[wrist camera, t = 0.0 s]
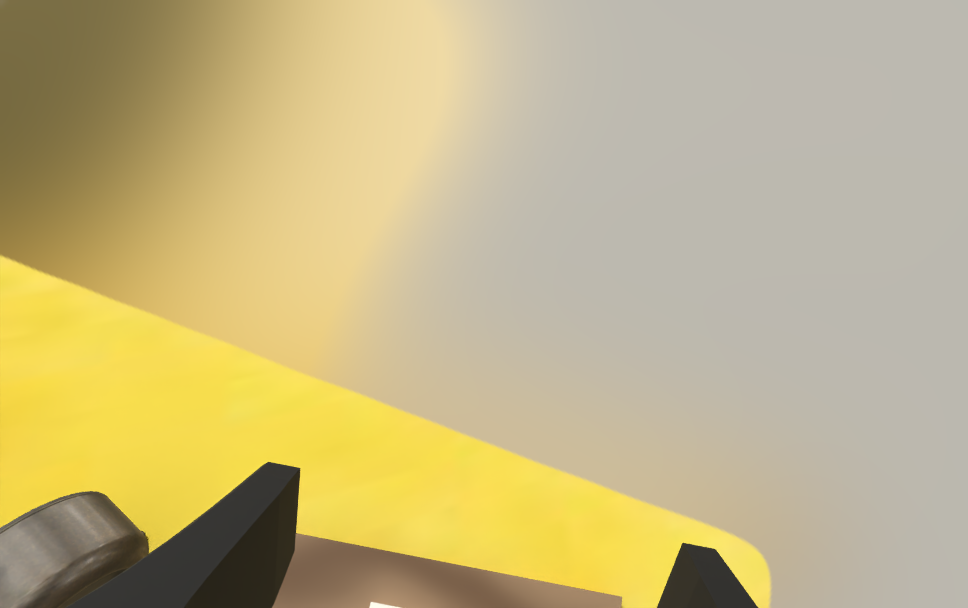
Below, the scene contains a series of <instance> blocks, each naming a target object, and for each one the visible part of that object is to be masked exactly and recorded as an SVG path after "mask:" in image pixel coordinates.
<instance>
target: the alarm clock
mask: <svg viewBox="0 0 968 608" xmlns="http://www.w3.org/2000/svg"><path fill="white" fill-rule="evenodd" d="M148 554H149V545H148V541H147V538H146V537H145V533H144V532H143V531H140V530H139V529H138V528H137V527H136V526H135V525H134V524H133V523H132V522H131V520H130V519H129V518H128V517H127V516H126V515H125V514H124V513H123V512H122V511H121V510H120V509H119V508H118V507H117V506H116V505H115V504H114V503H113V502H112V501H111V500H110V499H109V498H108V497H107V496H106V495H104V494H102V493H99V492H93V491H89V492H80V493H75V494H71V495H68V496H64V497H60V498H58V499H56V500H53V501H51V502H48V503H46V504H44V505H41V506H39V507H37V508H35V509H32V510H31V511H29V512H27V513H25V514H23V515H22V516H20V517H18V518H16V519H15V520H13V521H11V522H10V523H8V524H6V525H4V526H3V527H1V528H0V608H65V607H67V606H69V605H70V604H72V603H74V602H75V601H77V600H79V599H80V598H82V597H84V596H85V595H87V594H89V593H90V592H92V591H94V590H95V589H97V588H98V587H100V586H102V585H103V584H105V583H106V582H108V581H110V580H111V579H113V578H114V577H116V576H117V575H119V574H120V573H122V572H123V571H125V570H126V569H128V568H129V567H131V566H132V565H134V564H135V563H137V562H138V561H139V560H141V559H142V558H144V557H145V556H147V555H148Z"/></svg>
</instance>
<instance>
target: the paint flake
mask: <svg viewBox="0 0 968 608" xmlns="http://www.w3.org/2000/svg"><path fill="white" fill-rule="evenodd" d="M369 608H400V607H395V606H390V605H385V604H380V603H375V602H371V603H370V607H369Z"/></svg>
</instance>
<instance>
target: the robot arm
mask: <svg viewBox="0 0 968 608" xmlns="http://www.w3.org/2000/svg"><path fill="white" fill-rule="evenodd" d="M299 480H300V468H297V467H292V466H286V465H281V464H276V463H271V462H267V463H266V464H264V465H263V466H261V467H260V468H259V469H258V470H256V471H255V472H254V473H253V474H252V475H250V476H249V477H248V478H247V479H246V480H244V481H243V482H242V483H241V484H240V485H238V486H237V487H236V488H235V489H234V490H232V491H231V492H230V493H229V494H228V495H226V496H225V497H224V498H223V499H221V500H220V501H219V502H218V503H216V504H215V505H214V506H213V507H211V508H210V509H209V510H208V511H206V512H205V513H204V514H202V515H201V516H200V517H198V518H197V519H196V520H194V521H193V522H192V523H191V524H189V525H188V526H187V527H185V528H184V529H183V530H181V531H180V532H179V533H178V534H176V535H175V536H173V537H172V538H171V539H169V540H168V541H167V542H165V543H164V544H162V545H161V546H159V547H158V548H157V549H155V550H154V551H152V552H151V553H149V554H148V555H147V556H145V557H144V558H142V559H141V560H139V561H138V562H137V563H135V564H134V565H132V566H131V567H129V568H128V569H126V570H125V571H123V572H122V573H120V574H119V575H117V576H116V577H114V578H113V579H111V580H110V581H108V582H106V583H105V584H103V585H102V586H100V587H98V588H97V589H95V590H94V591H92V592H90V593H89V594H87V595H85V596H84V597H82V598H80V599H79V600H77V601H75V602H74V603H72V604H70V605H69V606H67V607H65V608H272V607H273V605H274V603H275V600H276V598H277V595H278V593H279V590H280V588H281V585H282V583H283V580H284V577H285V575H286V572H287V570H288V567H289V564H290V562H291V559H292V556H293V554H294V551H295V538H296V524H297V509H298V494H299ZM657 608H758V607H757V606H756V604H755V603H754V601H753V600H752V599H751V597H750V596H749V595H748V593H747V592H746V590H745V589H744V588H743V586H742V585H741V584H740V582H739V581H738V579H737V578H736V577H735V575H734V574H733V572H732V571H731V570H730V568H729V567H728V566H727V564H726V563H725V562H724V560H723V559H722V557H721V556H720V555H719V553H718V552H717V551H716V550H715V549H712V548H707V547H702V546H696V545H691V544H686V543H682V545H681V548H680V551H679V553H678V556H677V558H676V561H675V563H674V566H673V568H672V571H671V573H670V576H669V578H668V581H667V584H666V586H665V589H664V591H663V594H662V596H661V599H660V601H659V604H658V606H657Z"/></svg>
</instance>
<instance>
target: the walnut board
mask: <svg viewBox="0 0 968 608" xmlns="http://www.w3.org/2000/svg"><path fill="white" fill-rule="evenodd" d="M371 602H375V603H380V604H385V605H390V606H395V607H400V608H621V603H622V597H620V596H615V595H610V594H605V593H600V592H594V591H589V590H584V589H579V588H574V587H569V586H564V585H559V584H553V583H548V582H543V581H538V580H533V579H528V578H523V577H518V576H512V575H507V574H502V573H497V572H492V571H487V570H482V569H477V568H471V567H466V566H461V565H456V564H451V563H446V562H441V561H436V560H431V559H425V558H420V557H415V556H410V555H405V554H400V553H395V552H390V551H384V550H379V549H374V548H369V547H364V546H359V545H354V544H349V543H343V542H338V541H333V540H328V539H323V538H318V537H313V536H308V535H302V534H297V533H296V538H295V551H294V554H293V556H292V559H291V562H290V564H289V567H288V570H287V572H286V575H285V577H284V580H283V583H282V585H281V588H280V590H279V593H278V595H277V598H276V600H275V603H274V605H273V607H272V608H369V607H370V603H371Z"/></svg>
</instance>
